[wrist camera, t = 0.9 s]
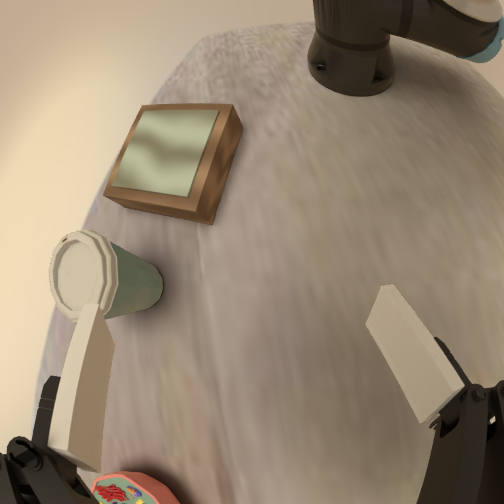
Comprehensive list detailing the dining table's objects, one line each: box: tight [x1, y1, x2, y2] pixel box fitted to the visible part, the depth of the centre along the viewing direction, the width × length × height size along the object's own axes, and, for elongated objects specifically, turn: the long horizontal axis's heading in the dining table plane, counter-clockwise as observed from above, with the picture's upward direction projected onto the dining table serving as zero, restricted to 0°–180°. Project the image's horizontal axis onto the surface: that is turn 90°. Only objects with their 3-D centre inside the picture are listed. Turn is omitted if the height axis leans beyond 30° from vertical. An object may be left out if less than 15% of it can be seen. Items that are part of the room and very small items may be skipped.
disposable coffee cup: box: [49, 229, 163, 324], centre depth 33 cm, size 11×11×15 cm
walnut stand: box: [103, 104, 243, 225], centre depth 39 cm, size 16×16×6 cm
